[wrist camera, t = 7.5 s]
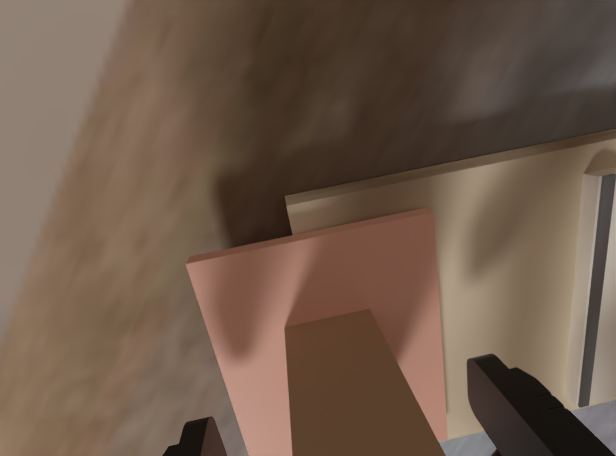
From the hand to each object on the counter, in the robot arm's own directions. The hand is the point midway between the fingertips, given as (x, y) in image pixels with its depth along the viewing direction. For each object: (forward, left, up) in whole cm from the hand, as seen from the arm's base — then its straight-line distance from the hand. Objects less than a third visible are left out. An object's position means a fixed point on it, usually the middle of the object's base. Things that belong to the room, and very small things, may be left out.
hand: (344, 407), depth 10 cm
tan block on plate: (0, 0, -2) cm, 2 cm away
